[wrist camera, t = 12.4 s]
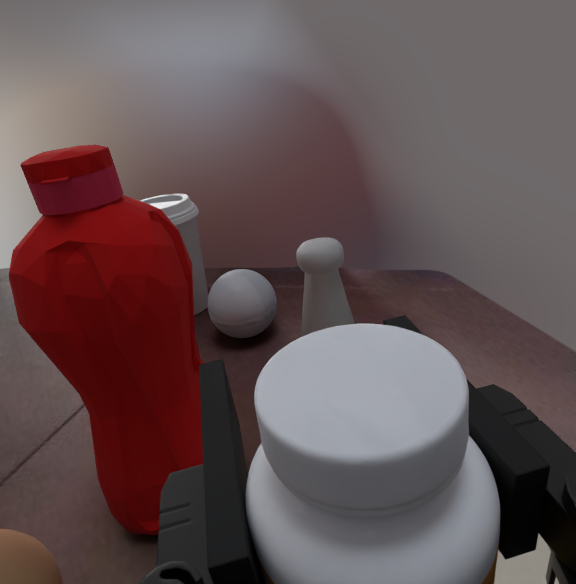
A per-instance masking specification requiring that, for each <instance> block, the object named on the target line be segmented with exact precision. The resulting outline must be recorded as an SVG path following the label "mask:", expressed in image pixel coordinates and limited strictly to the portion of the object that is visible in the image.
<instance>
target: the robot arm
mask: <svg viewBox="0 0 576 584" xmlns="http://www.w3.org/2000/svg"><path fill="white" fill-rule="evenodd" d="M383 322H384V325H389V326H396V327H400V328H403V329H407V330H410V331H413V332H416V333H419V334H422V333H421V332H420V331H419V330H418V328H417V327H416V326H415V325H414V324H413V323H412V322H411V321H410V320H409V319H408V318H407V317H406V316H405V315H404V316H399V317H395V318H391V319H387V320H383ZM422 335H423V334H422ZM199 380H200V402H201V425H202V448H203V464H201V465H197V466H194V467H190V468H186V469H183V470H179V471H175V472H172V473H170V474H169V476H168V478H167V480H166V482H165V484H164V486H163V489H162V491H161V498H160V515H159V531H158V545H157V560H156V568H155V569H153V570H152V571H151V572H149V573H148V574H147V575H145V576H144V578H143V579H142V580H141V582H140V583H139V584H264V580H263V577H262V573H261V570H260V566H259V563H258V560H257V557H256V553H255V550H254V546H253V542H252V539H251V535H250V530H249V525H248V520H247V514H246V484H247V479H248V476H247V470H246V464H245V457H244V451H243V445H242V438H241V432H240V426H239V421H238V417H237V413H236V409H235V405H234V402H233V398H232V394H231V390H230V386H229V382H228V378H227V374H226V371H225V367H224V363H223V359H222V360H218V361H213V362H209V363H205V364H201V365H199ZM466 380H467V379H466ZM467 384H468V388H469V414H468V426H469V436H470V437H471V438H472V439H473V441H474V442H475V443H476V444H477V446H478V447H479V449H480V450H481V452H482V453H483V455H484V456H485V458H486V460H487V462H488V464H489V466H490V468H491V471H492V473H493V476H494V479H495V482H496V486H497V490H498V496H499V501H500V536H499V548H498V549H499V551H500V552H501V554H502V555H503V557H504V558H505V560H506V559H509V558H513V557H516V556H519V555H522V554H525V553H528V552H531V551H534V550H536V545H537V539H538V534H540V536H541V537H542V538H543V539H544V541H545V542H546V543H547V545H548V546H549V547H550V548H551V553H550V558H549V563H548V568H547V573H546V582H547V584H554V583H555V579H556V577H557V579H558V581H559V584H576V453H575V452H574V451H573V450H572V449H571V448H570V447H569V446H568V445H567V444H566V443H565V442H564V441H563V440H561V439H560V438H559V437H558V436H557V435H556V434H555V433H554V432H553V431H552V430H551V429H550V428H549V427H547V426H546V425H545V424H544V423H543V422H542V421H539V419H538V417H537V416H536V415H535V414H533V413H532V412H531V411H530V410H527V407H526V406H525V405H524V404H523V403H522V402H521V401H520V400H518V399H517V398H516V397H515V396H514V395H513V394H512V393H510V392H508V391H506V390H504V389H502V388H500V387H498V386H496V385H494V384H493V385H489V386H485V387H481V388H478V389H476V388H475V387H474V386H473V385H472V384H471V383H470V382H469V381H468V380H467Z"/></svg>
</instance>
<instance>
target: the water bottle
mask: <svg viewBox="0 0 576 584" xmlns="http://www.w3.org/2000/svg"><path fill="white" fill-rule="evenodd" d="M21 167H22V170H23V172H24V175H25V177H26V180H27V183H28V185H29V188H30V190H31V192H32V195H33V197H34V200H35V202H36V205H37V207H38V210H39V212H40V213H41V214H43V216H42V217H41V218H40V219H39V221H37V223H36V224H35V225H34V226H33V228H32V229H31V230H30V231H29V232H28V233H27V235H26V236H25V237H24V238H23V239H22V241H21V242H20V243H19V244H18V245H17V246H16V248H15V249H14V250H13V254H12V259H11V265H10V271H9V280H10V285H11V289H12V293H13V298H14V302H15V307H16V311H17V315H18V320H19V323H20V325H21V326H22V327H23V328H24V329H25V330H26V332H27V333H28V334H29V335H30V336H31V337H32V339H33V340H34V341H35V342H36V343H37V345H38V346H39V347H40V348H41V349H42V350H43V352H44V353H45V354H46V355H47V356H48V357H49V359H50V360H51V361H52V362H53V363H54V365H55V366H56V367H57V368H58V369H59V370H60V372H61V373H62V374H63V375H64V376H65V377H66V379H67V380H68V381H69V382H70V383H71V385H72V386H73V387H74V388H75V389H76V390H77V392H78V393H79V394H80V396H81V398H82V400H83V402H84V404H85V406H86V408H87V410H88V412H89V415H90V422H91V430H92V438H93V445H94V453H95V460H96V468H97V476H98V480H99V483H100V486H101V489H102V491H103V494H104V496H105V499H106V501H107V504H108V506H109V509H110V512H111V514H112V515H113V516H114V517H115V518H116V520H117V521H118V522H119V523H120V524H121V525H122V526H123V527H124V528H125V529H126V530H128V531H129V532H130V533H136V534H146V535H158V531H159V515H160V498H161V491H162V489H163V486H164V484H165V482H166V480H167V478H168V476H169V474H170V473H172V472H175V471H179V470H183V469H186V468H190V467H194V466H197V465H201V464H203V448H202V425H201V402H200V380H199V365H201V364H203V362H202V360H201V359H200V355H199V351H198V346H197V342H196V338H195V326H194V299H193V272H192V262H191V259H190V257H189V254H188V252H187V249H186V247H185V244H184V242H183V239H182V237H181V234H180V232H179V230H178V229H177V228H176V227H175V226H174V224H173V223H172V222H171V221H170V220H169V218H168V217H167V216H166V215H165V214H164V212H163V211H162V210H161V209H159V208H157V207H154V206H152V205H150V204H147V203H145V202H142V201H139V200H136V199H133V198H130V197H127V196H124V195H123V191H122V188H121V185H120V182H119V178H118V175H117V172H116V168H115V165H114V163H113V160H112V157H111V154H110V151H109V148H108V147H104V146H99V145H86V146H85V145H84V146H75V147H70V148H64V149H59V150H52V151H47V152H43V153H40V154H38V155H36V156H33V157H31V158H29V159H28V160H26V161H24V162H22V163H21Z"/></svg>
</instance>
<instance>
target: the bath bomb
mask: <svg viewBox="0 0 576 584" xmlns="http://www.w3.org/2000/svg"><path fill="white" fill-rule="evenodd" d="M276 306H277V302H276V295H275V292H274V289H273V288H272V286H271V284H270V283H269V282H268V281H267V279H266V278H264V277H263V276H262V275H260V274H259V273H256V272H254V271H251V270H245V269H238V270H233V271H230V272H228V273H226V274H224V275H222V276H221V277H220V278H219V279H218V280H217V281H216V282H215V283H214V284H213V286H212V288H211V290H210V292H209V295H208V303H207V307H208V312H209V315H210V318H211V320H212V322H213V323H214V325H215V326H216V327H217V328H218V329H219V330H220V331H221V332H223V333H225V334H226V335H228V336H231V337H235V338H249V337H253V336H255V335H258V334H259V333H261V332H262V331H264V330H265V329H266V328H267V327H268V326H269V325H270V323H271V322H272V320H273V318H274V315H275V312H276Z"/></svg>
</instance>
